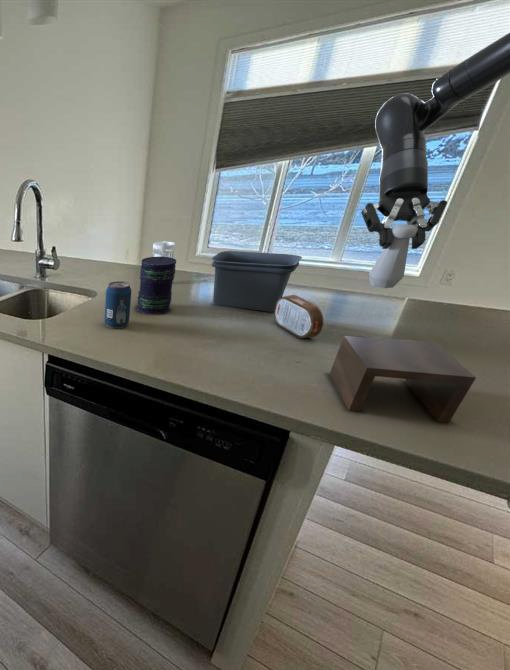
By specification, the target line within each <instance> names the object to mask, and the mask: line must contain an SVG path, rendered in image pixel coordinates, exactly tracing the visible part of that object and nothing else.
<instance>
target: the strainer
mask: <svg viewBox="0 0 510 670" xmlns="http://www.w3.org/2000/svg"><path fill="white" fill-rule="evenodd" d="M175 247H176V243H175V242H173V241H167V240H162V241H157V242H153V245H152V253H151V257H170V258H174V255H175Z"/></svg>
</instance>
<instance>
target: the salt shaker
mask: <svg viewBox="0 0 510 670" xmlns="http://www.w3.org/2000/svg"><path fill="white" fill-rule="evenodd" d="M390 229H392V243H391V245H390V246H389V247H388V248H387V249H382V251H381V253H380V255H379V256H378V258H377V260H376V262H375V263H374V265H372V268H371V269H370V271H369V273H368V280H369V285H370V286H371V287H373V288H379V289H392V288H394V287H395V286H397V284H398V283H399V282H400V281H402V280H403V278H404V277H405V271H406V265H407V260H408V259H407V258H408V253H409V245H410V239H412V238H413V237H414V236H415V235H416V233H417V231H418V228H417V227H416V226H414V225H408V224H407V223H404V224H396V225H394V226H391V227H390Z"/></svg>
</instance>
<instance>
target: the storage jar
mask: <svg viewBox="0 0 510 670" xmlns="http://www.w3.org/2000/svg"><path fill="white" fill-rule="evenodd" d="M140 264H141V265H140V269H139V270H140V271H139V274H140V275H139V281H140V283H139V290H138V293H137V294H138V295H137V306H136V310H137V311H138V312H140V313H142V314H147V315H163V314H166V313H168V312H170V309H171V307H170V306H171V303H172V299H173V298H172V295H173V291H172V290H173V282H174V280H175V275H176V267H177V266H176V264H177V259H176V258H174V257H173V258H170V257H167V256H166V257H152V256H149V257H144V258H142V259H141V263H140Z"/></svg>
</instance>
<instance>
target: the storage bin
mask: <svg viewBox="0 0 510 670" xmlns="http://www.w3.org/2000/svg"><path fill="white" fill-rule="evenodd" d="M301 259H302V256H301V255H298V254H289V253H278V252H277V253H276V252H259V251H240V250H225V251H219V252H218V253H217V254H215V255H214V256H213V257H211V260H212V263H211V267H212V268H214V281H213V293H212V294H213V295H212V303H213V305H217V306H224V307H231V308H238V309H239V308H240V309H247V310H254V311H260V312H269V313H270V312H275V306H276V303H277V301H278V300H279V299H280V298H281V297H284V293H285V291H286V288H287V285H288V283H289V280H290V277H291V274H292V273H293V272H294V271H296V269H297V268H298V267H299V265H300V261H301Z"/></svg>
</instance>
